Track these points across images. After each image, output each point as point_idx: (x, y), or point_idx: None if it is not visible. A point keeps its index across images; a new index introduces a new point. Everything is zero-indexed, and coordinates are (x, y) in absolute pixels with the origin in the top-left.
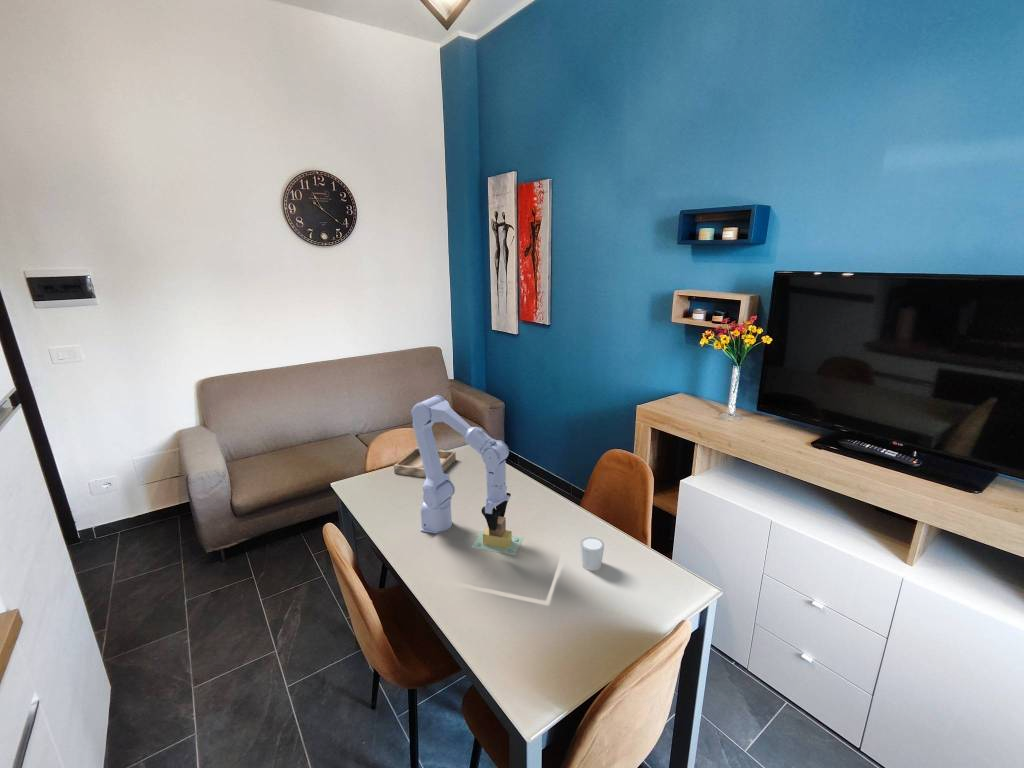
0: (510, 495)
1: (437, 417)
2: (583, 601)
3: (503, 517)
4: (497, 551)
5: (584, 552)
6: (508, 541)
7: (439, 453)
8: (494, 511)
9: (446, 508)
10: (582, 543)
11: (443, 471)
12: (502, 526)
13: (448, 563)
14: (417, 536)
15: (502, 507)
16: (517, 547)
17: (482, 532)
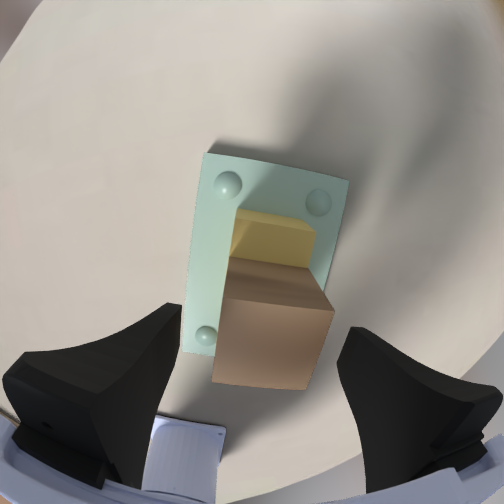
0: (29, 373)
1: None
2: (465, 16)
3: (229, 312)
4: (326, 263)
5: None
6: (295, 223)
7: None
8: (462, 440)
9: (194, 495)
10: None
11: (2, 414)
12: (302, 292)
13: None
14: (240, 464)
15: (154, 361)
16: (288, 172)
17: (191, 345)
